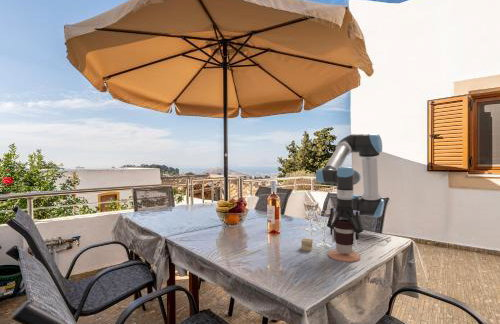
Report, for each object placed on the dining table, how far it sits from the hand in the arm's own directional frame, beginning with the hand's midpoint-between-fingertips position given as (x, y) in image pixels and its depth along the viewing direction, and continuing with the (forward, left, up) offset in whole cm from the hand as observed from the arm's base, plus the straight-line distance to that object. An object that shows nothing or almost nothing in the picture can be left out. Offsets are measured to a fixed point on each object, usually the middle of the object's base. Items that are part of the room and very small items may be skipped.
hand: (344, 243), depth 135 cm
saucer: (0, 0, -6) cm, 6 cm away
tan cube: (+2, -19, -6) cm, 20 cm away
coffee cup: (0, 0, -4) cm, 4 cm away
